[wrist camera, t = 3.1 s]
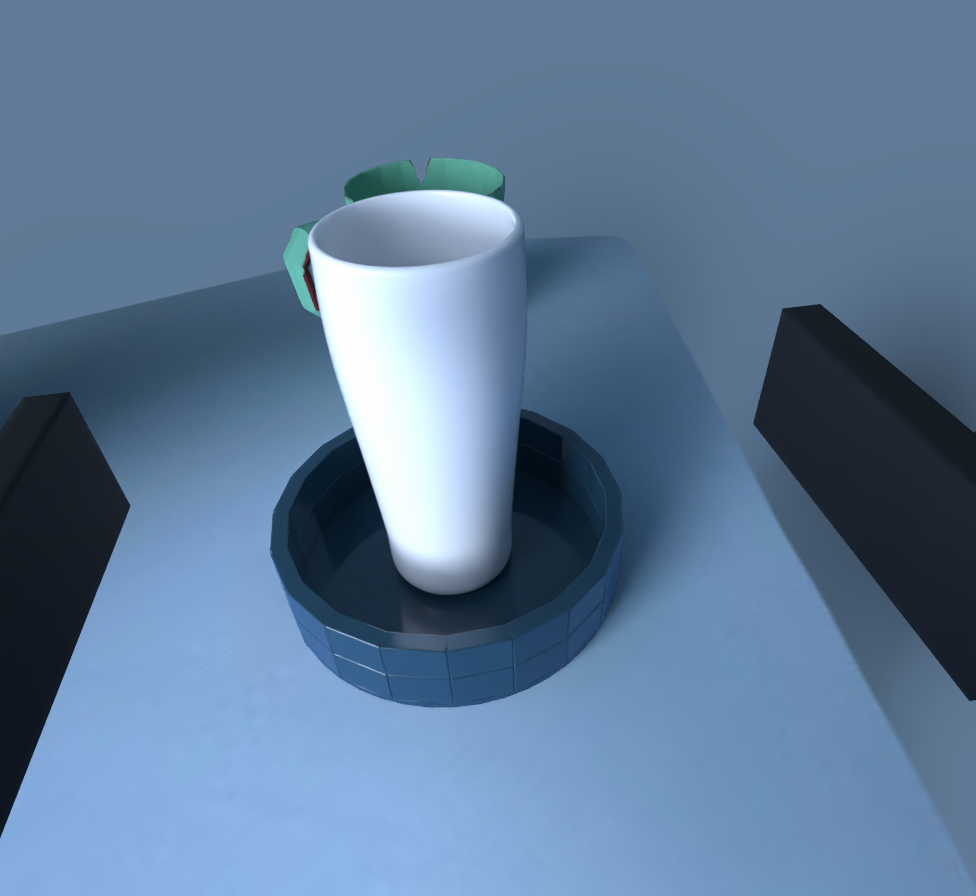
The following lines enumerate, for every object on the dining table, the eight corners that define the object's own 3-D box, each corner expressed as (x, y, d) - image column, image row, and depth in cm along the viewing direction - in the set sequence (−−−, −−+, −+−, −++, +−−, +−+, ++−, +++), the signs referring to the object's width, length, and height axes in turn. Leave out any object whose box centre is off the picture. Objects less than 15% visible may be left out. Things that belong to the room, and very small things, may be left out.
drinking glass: (502, 488, 33) (490, 177, 23) (550, 592, 28) (560, 248, 18) (367, 520, 32) (295, 203, 22) (391, 635, 27) (313, 288, 17)
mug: (449, 284, 52) (438, 148, 45) (538, 327, 46) (539, 179, 40) (279, 354, 45) (238, 204, 38) (358, 416, 39) (324, 252, 32)
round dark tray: (227, 572, 30) (202, 516, 28) (452, 423, 38) (447, 369, 36) (454, 791, 22) (445, 737, 20) (678, 544, 30) (689, 485, 28)
